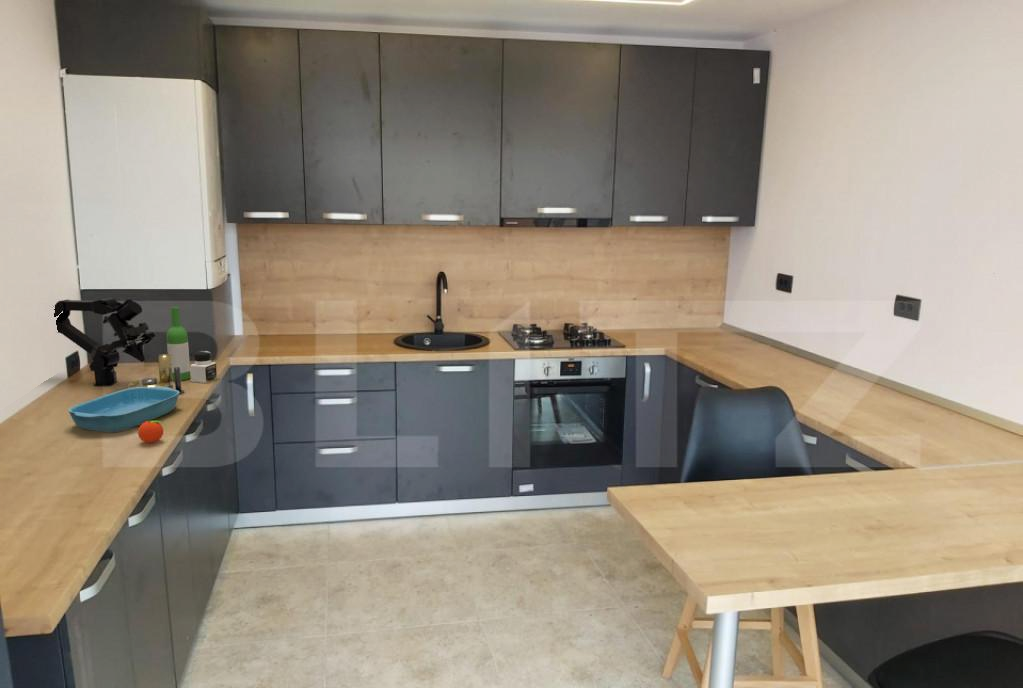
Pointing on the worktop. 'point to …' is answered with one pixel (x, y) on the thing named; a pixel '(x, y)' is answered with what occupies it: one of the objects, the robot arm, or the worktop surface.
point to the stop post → (178, 380)
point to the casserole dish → (124, 408)
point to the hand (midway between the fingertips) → (143, 361)
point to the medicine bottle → (203, 368)
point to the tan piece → (164, 375)
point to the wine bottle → (178, 346)
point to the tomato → (150, 431)
